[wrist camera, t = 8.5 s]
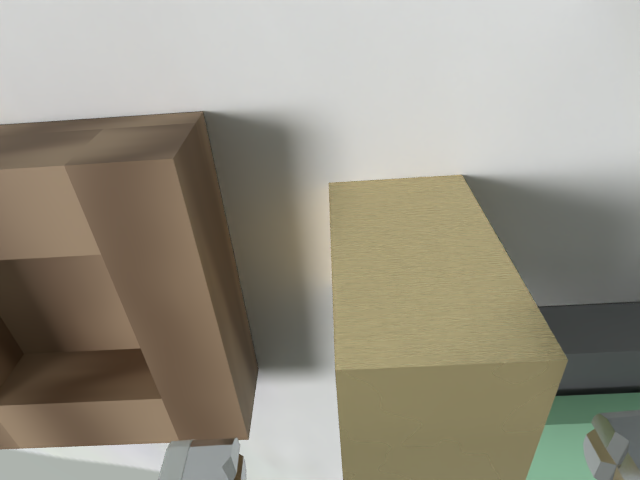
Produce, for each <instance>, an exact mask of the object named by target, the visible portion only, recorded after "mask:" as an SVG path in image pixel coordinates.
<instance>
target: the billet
mask: <svg viewBox="0 0 640 480" xmlns="http://www.w3.org/2000/svg"><path fill="white" fill-rule="evenodd" d="M329 202H330V231H331V261H332V290H333V319H334V349H335V374H336V388H337V401H338V415H339V429H340V443H341V456H342V470H343V480H526V477H527V475H528V472H529V469H530V466H531V463H532V460H533V458H534V455H535V452H536V449H537V446H538V444H539V441H540V438H541V435H542V432H543V429H544V427H545V424H546V421H547V418H548V415H549V412H550V410H551V407H552V404H553V401H554V398H555V396H556V393H557V390H558V387H559V384H560V381H561V379H562V376H563V373H564V370H565V367H566V364H567V362H568V359H567V357H566V355H565V354H564V352H563V350H562V348H561V347H560V345H559V343H558V342H557V340H556V338H555V336H554V335H553V333H552V331H551V329H550V328H549V326H548V324H547V322H546V321H545V319H544V317H543V315H542V314H541V312H540V310H539V308H538V307H537V305H536V303H535V301H534V300H533V298H532V296H531V294H530V293H529V291H528V289H527V287H526V286H525V284H524V282H523V280H522V279H521V277H520V275H519V274H518V272H517V270H516V268H515V267H514V265H513V263H512V261H511V260H510V258H509V256H508V254H507V253H506V251H505V249H504V247H503V246H502V244H501V242H500V240H499V239H498V237H497V235H496V233H495V232H494V230H493V228H492V226H491V225H490V223H489V221H488V219H487V218H486V216H485V214H484V212H483V211H482V209H481V207H480V205H479V204H478V202H477V200H476V199H475V197H474V195H473V193H472V192H471V190H470V188H469V186H468V185H467V183H466V181H465V179H464V178H463V176H462V175H451V176H434V177H418V178H401V179H384V180H368V181H351V182H335V183H329Z"/></svg>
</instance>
